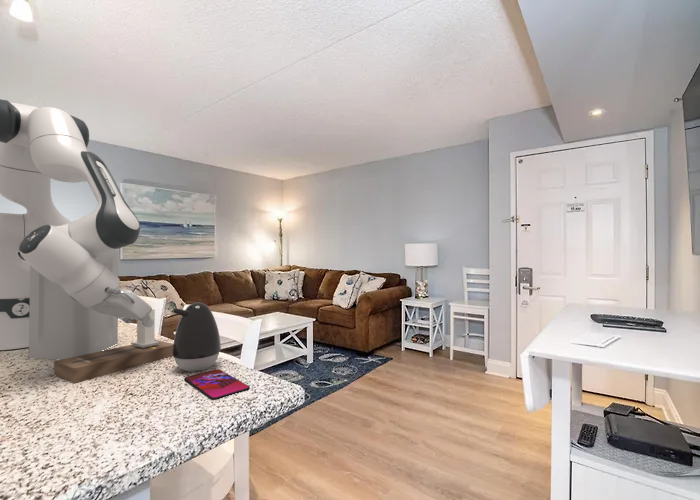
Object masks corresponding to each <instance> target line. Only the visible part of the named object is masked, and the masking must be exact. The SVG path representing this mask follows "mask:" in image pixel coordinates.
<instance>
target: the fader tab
mask: <svg viewBox="0 0 700 500" xmlns="http://www.w3.org/2000/svg"><path fill="white" fill-rule="evenodd" d="M155 312H156V311H155V309H154V308H152V311H151V312H150V314H149V316H150V318H151V319H152V320H153V321H154V324H153V325H152V327H146V326H144V325H143V324H142V322H141V321H140V320H136V341H135V342H132V343H131V345H133V346H137V347H142V348H145V347H149V346H153V345H158V344H159V342H157V341H154V340H155V330H156V329H155V325H156V323H155V320H156V319H155V316H156V315H155Z"/></svg>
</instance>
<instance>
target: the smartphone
mask: <svg viewBox="0 0 700 500" xmlns="http://www.w3.org/2000/svg"><path fill="white" fill-rule="evenodd" d="M183 379H184V382H185V383H186V384H188V385H190V386H191V387H192V388H194V389H195V390H197V391H198V392H200V394H202V395H204V396H205V397H206V398H207V399H209V400H211V401H218V400H220V398H221V399H223V397H224V398H226V396H227V397H230V396H233V395H232V394H234V395H236V394H235V393H237V394H239V392H240V393H243V391H244V392H246V391H249V390H250V388H251V387H250V385H248V384H246V383H244V382H242V381H241V380H239V379H238V378H235V377H234V376H232V375H230V374H229V373H227V372H225V371H223V369H222V370H221V369H219V368H215V369H211V370H207V371H202V372H199V373H195V374H191V375H187V376H185V377H184V378H183ZM229 395H230V396H229Z"/></svg>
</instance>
